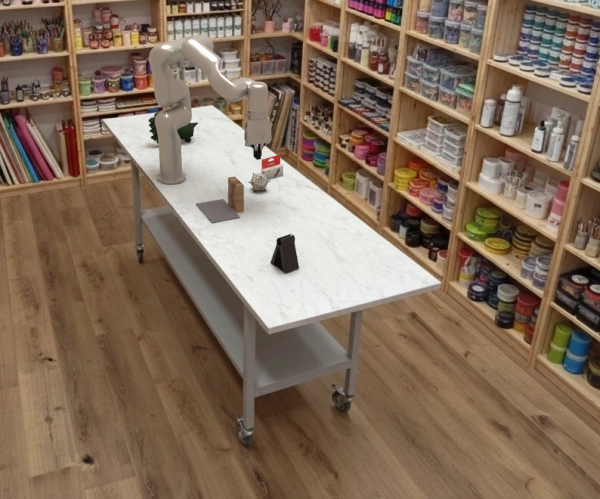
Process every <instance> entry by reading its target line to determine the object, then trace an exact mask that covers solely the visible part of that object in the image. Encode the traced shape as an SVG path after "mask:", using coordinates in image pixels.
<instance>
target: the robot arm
mask: <svg viewBox="0 0 600 499" xmlns="http://www.w3.org/2000/svg"><path fill="white" fill-rule="evenodd" d="M214 48H215V47H214V42H213V40H212V39H211V38H210V36H208V35H206V34H197V35H191V36H186V37H185V36H184V37H179V38H176V39H173V40H168V41H165V42H162V43H159V44H158V45H155V46H154V47H153V48H152V49H151V50H150V52H149V54H148V62H149V67H150V72H151V75H152V82H153V83H152V84H153V90H154V92H153V93H154V97H155V100H156V103H157V105H159V106H160V107H162V108H164V107H165V108H164V109H162V110H161V112H159V111H158V112H159V113H158V114H157V115H156V117H155V125H156V129H157V134H158V155H159V156H158V157H159V159H158V160H159V173H158V174H157V176H156V180H157V182H159V183H161V184H164V185H177V184H181V183H183V182H185V180H186V178H187V176H186V174H185V173H184V172H183V163H182V162H183V161H182V159H183V157H182V139H180V136H179V135H178V133H177V129H179V128H181V127H183V126H186V125H187V124H189V123H191V121H192V118H193V111H192V103H191V100H192V99H191V95H190V94H191V92H190V88H189V87H188V84H187V83H186V82H185V80H182V79H181V78H175V77H174V71H173V69H172V66H171V65H170V64H175V63H178V62H181V61H183V60H187V61H189V62H190V63H191V64H192V65H194V66H195V67H197V68H198V69H199V70H201V72H203V73H204V74H205V75H206V76H207V80H208V82H209V84H210V86H211V88H212V90H213V91H214V92H215V93H217V94H218V96H220V97H221V98H223V100H225V101H227V102H230V103H237V102H239V101H241V100H243V99H244V100H245V99H247V112H245V113H244V116H245V117H246V118H245V119H246V120H245V125H244V134H243V135H244V136H243V137H244V138H243V139H244V147H248V148H251V149H252V151H253V152H252V153H253V158H254V159H255V160H257V161H259V160H262V155H263V154H262V152H263V149H264V147H265V146H266V145H268V144H271V141H272V137H273V136H272V125H271V119H270V117H269V116H268V103H269V102H268V91H269V90H268V87H269V86H268V85H267V83H265V82H263V81H256V80H254V79H252V78H249V77H243V76H242V77H241V78H237V79H235V80H233V81H232V80H231V81H230V80H228V79H227V78H226V77H225V76H224V75H223V74H222V73H221V72H220V69H221V67H222V64H223V62H222V58H221V57H220V56H219V55H218V54H216V53H215V52H214ZM166 107H167V108H166Z"/></svg>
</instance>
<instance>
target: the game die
mask: <svg viewBox="0 0 600 499" xmlns="http://www.w3.org/2000/svg"><path fill="white" fill-rule="evenodd" d="M264 173H265V172H263V173H260V172H259V173H254V172H252V174H253V175H252V176H251V179H250V181H248V184H250V185H251V186H252V188H253V193H255V192H256V191H263V190H264V191H265V192H267V190H266V188H267V185H268V183H270V182H271V180H267V178H266V176H265V175H264Z"/></svg>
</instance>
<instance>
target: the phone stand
mask: <svg viewBox="0 0 600 499" xmlns="http://www.w3.org/2000/svg"><path fill="white" fill-rule="evenodd" d="M275 240H276V242H275V243H276V244H275V247H274V251H273V254H272V257H271V259H270V264H271V265H272V266H274V267H275V268H276V269H278V270H280V271H281V272H282V273H284V274H288V273H291V272H294V271H296V270H298V269H300V265H299V261H298V260H299V259H298V254H297V248H296V244H295V243H296V237H295V235H294V234H292V233H289V234H286V235H283V236H280V237H278V238H276V239H275Z"/></svg>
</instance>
